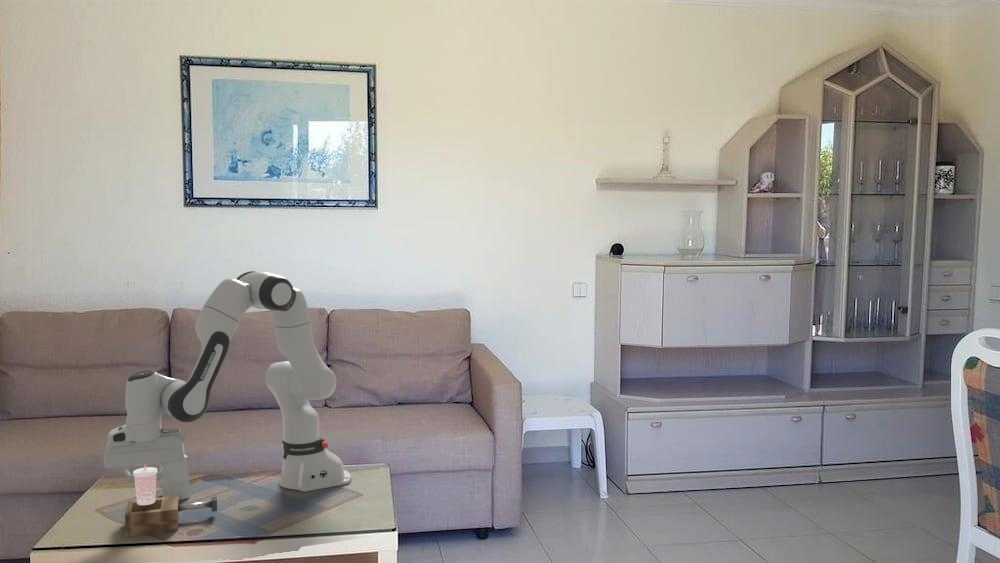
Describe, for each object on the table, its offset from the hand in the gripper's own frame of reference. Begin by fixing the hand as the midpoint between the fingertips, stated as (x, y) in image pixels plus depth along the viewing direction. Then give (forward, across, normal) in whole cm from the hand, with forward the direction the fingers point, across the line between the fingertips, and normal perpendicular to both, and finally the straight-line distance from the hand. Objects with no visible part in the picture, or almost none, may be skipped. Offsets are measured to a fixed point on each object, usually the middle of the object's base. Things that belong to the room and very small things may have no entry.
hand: (145, 479), depth 216 cm
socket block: (+13, -2, 0) cm, 13 cm away
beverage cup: (+7, 0, 0) cm, 7 cm away
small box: (+14, -7, -22) cm, 27 cm away
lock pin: (+11, -12, -2) cm, 17 cm away
